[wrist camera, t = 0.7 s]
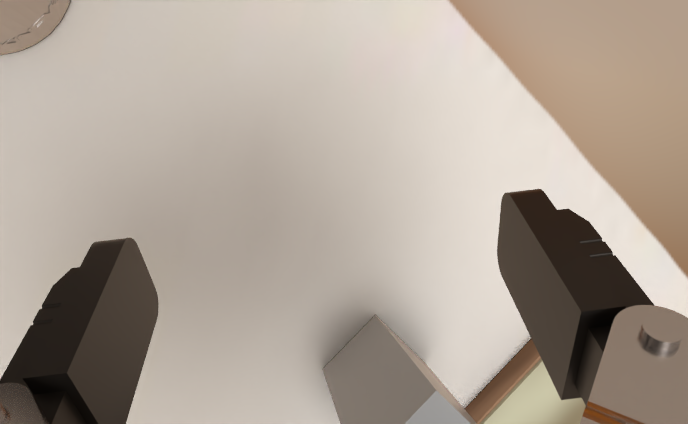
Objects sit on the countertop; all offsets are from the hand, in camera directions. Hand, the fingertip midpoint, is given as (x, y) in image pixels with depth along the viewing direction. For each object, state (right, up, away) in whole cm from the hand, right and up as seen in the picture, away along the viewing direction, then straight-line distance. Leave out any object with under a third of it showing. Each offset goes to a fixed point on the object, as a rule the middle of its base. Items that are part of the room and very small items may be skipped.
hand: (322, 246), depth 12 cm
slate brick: (+3, -10, +24) cm, 26 cm away
